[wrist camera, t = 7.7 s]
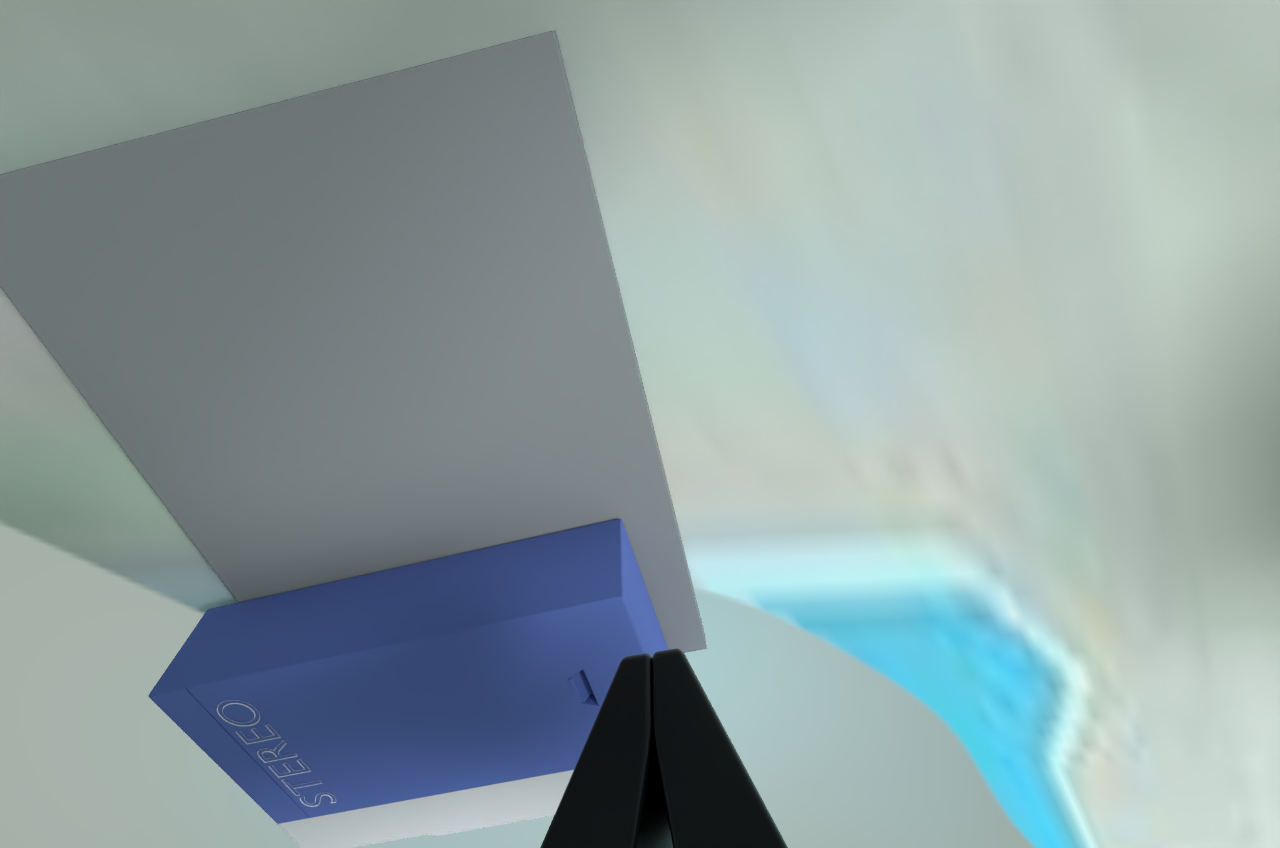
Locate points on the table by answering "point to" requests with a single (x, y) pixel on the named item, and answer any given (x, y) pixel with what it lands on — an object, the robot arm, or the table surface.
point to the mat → (357, 326)
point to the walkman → (416, 687)
